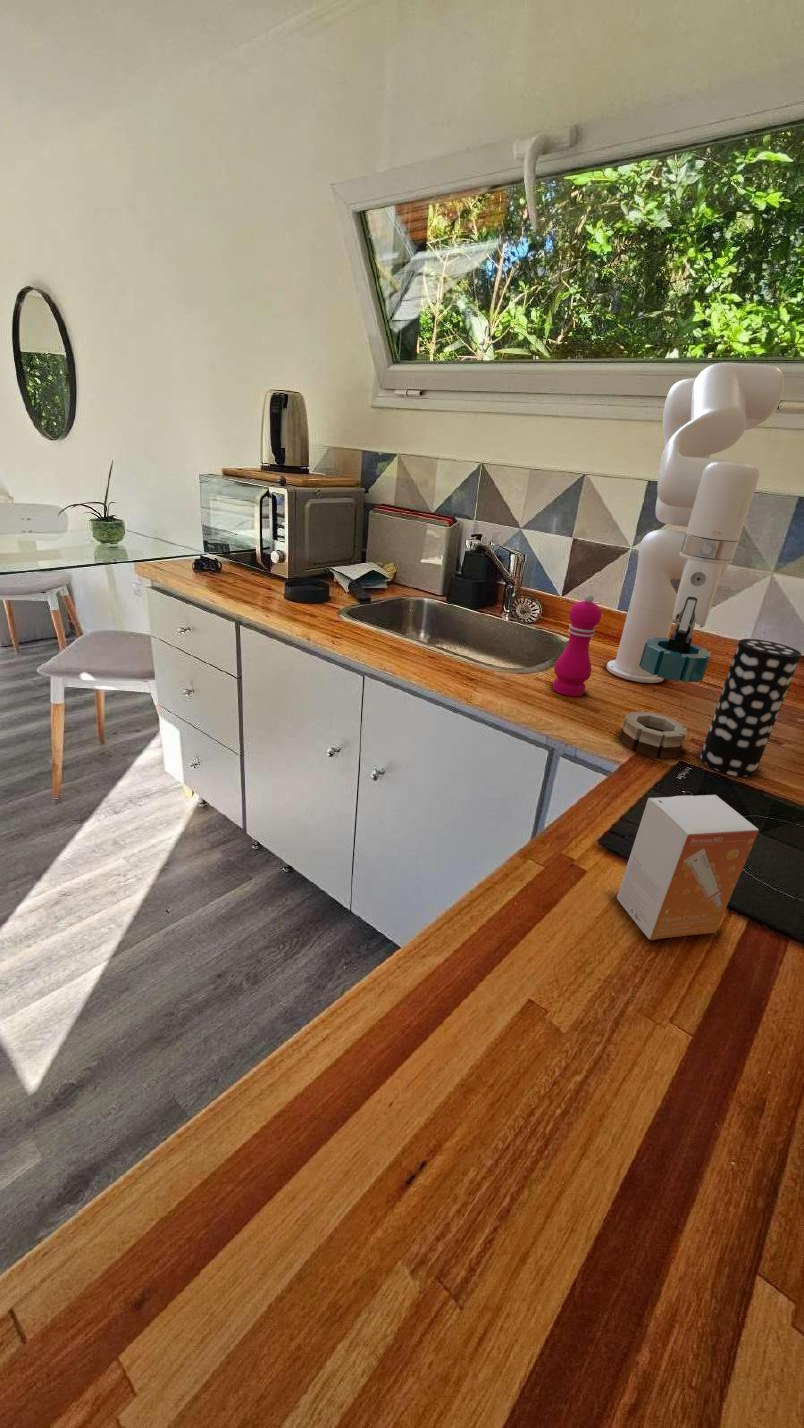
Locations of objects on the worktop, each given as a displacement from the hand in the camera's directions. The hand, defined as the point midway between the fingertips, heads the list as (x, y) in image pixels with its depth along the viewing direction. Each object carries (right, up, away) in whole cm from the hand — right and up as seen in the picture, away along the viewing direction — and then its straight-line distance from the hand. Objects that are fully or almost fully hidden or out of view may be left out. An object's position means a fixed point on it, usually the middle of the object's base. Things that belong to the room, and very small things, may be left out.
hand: (674, 660), depth 99 cm
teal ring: (-2, -2, -3) cm, 4 cm away
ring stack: (-3, -14, +2) cm, 15 cm away
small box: (-18, -30, -37) cm, 51 cm away
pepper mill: (-12, -4, +22) cm, 26 cm away
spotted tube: (+8, -17, -2) cm, 19 cm away
